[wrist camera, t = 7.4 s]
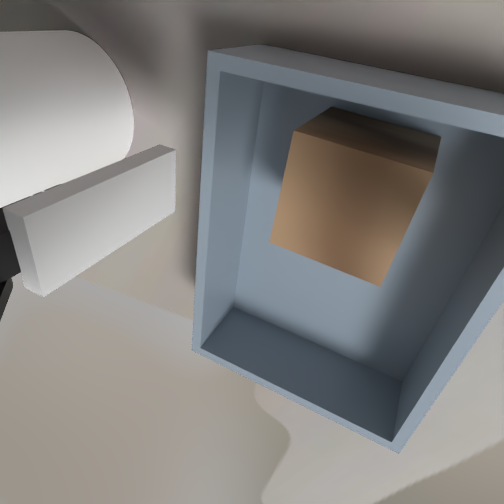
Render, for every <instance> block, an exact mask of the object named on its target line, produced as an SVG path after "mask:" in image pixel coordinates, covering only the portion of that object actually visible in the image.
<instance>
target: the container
mask: <svg viewBox="0 0 504 504" xmlns="http://www.w3.org/2000/svg"><path fill="white" fill-rule="evenodd" d="M133 132H134V116H133V109H132V104H131V99H130V96H129V93H128V90H127V87H126V84H125V82H124V80H123V78H122V76H121V74H120V72H119V70H118V69H117V67H116V65H115V64H114V62H113V61H112V60H111V58H110V57H109V56H108V55H107V53H106V52H105V51H104V50H103V49H102V48H101V47H100V46H99V45H98V44H96V43H95V42H94V41H93V40H91V39H90V38H88V37H87V36H84V35H82V34H80V33H78V32H74V31H69V30H51V31H11V32H0V208H2V207H4V206H6V205H9V204H11V203H14V202H16V201H19V200H21V199H24V198H26V197H29V196H33V195H34V194H36V193H39V192H41V191H42V192H44V190H46V189H49V188H51V187H54V186H56V185H59V184H63V183H66V182H68V181H71V180H73V179H76V178H78V177H81V176H83V175H86V174H88V173H91V172H93V171H95V170H98V169H100V168H103V167H105V166H108V165H110V164H113V163H115V162H118V161H120V160H123V159H124V158H125V156H126V155H127V153H128V151H129V149H130V147H131V144H132V140H133Z"/></svg>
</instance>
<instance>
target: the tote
mask: <svg viewBox="0 0 504 504" xmlns="http://www.w3.org/2000/svg"><path fill="white" fill-rule="evenodd" d="M330 107H335V108H339V109H342V110H346V111H349V112H353V113H357V114H360V115H364V116H367V117H371V118H375V119H378V120H382V121H385V122H389V123H393V124H396V125H400V126H404V127H407V128H411V129H414V130H418V131H422V132H425V133H429V134H432V135H436V136H440V137H441V141H440V146H439V150H438V155H437V159H436V164H435V168H434V173H433V175H432V177H431V179H430V181H429V184H428V186H427V188H426V190H425V192H424V194H423V197H422V199H421V201H420V203H419V205H418V207H417V209H416V212H415V214H414V216H413V218H412V220H411V222H410V224H409V227H408V229H407V231H406V233H405V235H404V237H403V240H402V242H401V244H400V246H399V248H398V250H397V252H396V255H395V257H394V259H393V261H392V263H391V265H390V267H389V270H388V272H387V274H386V276H385V278H384V280H383V283H382V285H381V287H379V286H377V285H374V284H372V283H369V282H367V281H364V280H362V279H359V278H357V277H354V276H352V275H349V274H347V273H344V272H342V271H339V270H337V269H334V268H332V267H329V266H327V265H324V264H322V263H319V262H317V261H314V260H312V259H309V258H307V257H304V256H302V255H300V254H297V253H295V252H292V251H290V250H287V249H285V248H282V247H280V246H277V245H275V244H272V243H270V242H269V241H270V237H271V232H272V228H273V223H274V218H275V214H276V209H277V205H278V200H279V195H280V191H281V186H282V182H283V177H284V173H285V168H286V163H287V159H288V154H289V150H290V145H291V141H292V136H293V131H294V130H295V129H297V128H298V127H300V126H302V125H303V124H305V123H306V122H308V121H309V120H311V119H313V118H314V117H316V116H317V115H319V114H320V113H322V112H324V111H325V110H327V109H328V108H330ZM503 301H504V93H500V92H495V91H490V90H485V89H480V88H475V87H470V86H465V85H460V84H455V83H450V82H446V81H441V80H436V79H431V78H426V77H421V76H416V75H411V74H406V73H401V72H396V71H392V70H387V69H382V68H377V67H372V66H367V65H362V64H357V63H352V62H347V61H342V60H338V59H333V58H328V57H323V56H318V55H313V54H308V53H303V52H298V51H293V50H288V49H283V48H279V47H274V46H269V45H264V44H259V45H251V46H242V47H234V48H225V49H217V50H208V54H207V72H206V91H205V110H204V129H203V148H202V166H201V185H200V204H199V223H198V242H197V260H196V279H195V298H194V317H193V337H192V351H194V352H197V353H198V354H200V355H202V356H204V357H206V358H208V359H211V360H213V361H214V362H216V363H218V364H220V365H222V366H224V367H226V368H228V369H230V370H232V371H234V372H236V373H238V374H240V375H243V376H244V377H246V378H248V379H250V380H253V381H254V382H256V383H258V384H260V385H262V386H264V387H266V388H268V389H270V390H272V391H274V392H276V393H278V394H280V395H282V396H284V397H286V398H288V399H290V400H292V401H294V402H296V403H298V404H300V405H302V406H304V407H306V408H308V409H310V410H312V411H314V412H316V413H318V414H320V415H322V416H324V417H326V418H328V419H330V420H332V421H334V422H336V423H338V424H340V425H342V426H344V427H346V428H348V429H350V430H352V431H354V432H356V433H358V434H360V435H362V436H364V437H366V438H368V439H370V440H372V441H374V442H376V443H378V444H380V445H382V446H384V447H386V448H388V449H390V450H392V451H394V452H396V453H398V454H399V453H400V452H401V450H402V449H403V447H404V446H405V444H406V443H407V441H408V440H409V438H410V437H411V436H412V434H413V433H414V431H415V430H416V428H417V427H418V425H419V424H420V422H421V421H422V419H423V418H424V417H425V415H426V414H427V412H428V411H429V409H430V408H431V406H432V405H433V403H434V402H435V400H436V399H437V397H438V396H439V395H440V393H441V392H442V390H443V389H444V387H445V386H446V384H447V383H448V381H449V380H450V378H451V377H452V376H453V374H454V373H455V371H456V370H457V368H458V367H459V365H460V364H461V362H462V361H463V359H464V358H465V356H466V355H467V354H468V352H469V351H470V349H471V348H472V346H473V345H474V343H475V342H476V340H477V339H478V337H479V336H480V334H481V333H482V332H483V330H484V329H485V327H486V326H487V324H488V323H489V321H490V320H491V318H492V317H493V315H494V314H495V313H496V311H497V310H498V308H499V307H500V305H501V304H502V302H503Z"/></svg>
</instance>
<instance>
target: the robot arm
mask: <svg viewBox="0 0 504 504" xmlns="http://www.w3.org/2000/svg"><path fill="white" fill-rule="evenodd" d="M175 174H176V150H175V149H172V148H169V147H166V146H163V145H157V146H155V147H152V148H150V149H147V150H145V151H142V152H140V153H138V154H135V155H133V156H130V157H128V158H125V159H123V160H120V161H118V162H115V163H113V164H110V165H108V166H105V167H103V168H100V169H98V170H95V171H93V172H91V173H88V174H86V175H83V176H81V177H78V178H76V179H73V180H71V181H68V182H66V183H63V184H59V185H56V186H54V187H51V188H49V189H46V190H44V192H42V191H41V192H39V193H36V194H34V195H33V196H29V197H26V198H24V199H21V200H19V201H16V202H14V203H11V204H9V205H6V206H4V207H2V208H0V320H1V317H2V315H3V312H4V310H5V307H6V304H7V302H8V299H9V296H10V294H11V291H12V288H13V282H12V279H11V277H13V276H15V275H16V274H18V273H20V272H21V275H22V279H23V282H24V286H25V288H26V289H28V290H30V291H32V292H34V293H36V294H38V295H40V296H42V297H44V296H46V295H48V294H49V293H51V292H52V291H54V290H55V289H57V288H58V287H60V286H61V285H63V284H64V283H66V282H67V281H69V280H70V279H72V278H74V277H75V276H77V275H78V274H80V273H81V272H83V271H84V270H86V269H87V268H89V267H90V266H92V265H93V264H95V263H97V262H98V261H100V260H101V259H103V258H104V257H106V256H107V255H109V254H110V253H112V252H113V251H115V250H116V249H118V248H119V247H121V246H123V245H124V244H126V243H127V242H129V241H130V240H132V239H133V238H135V237H136V236H138V235H139V234H141V233H142V232H144V231H145V230H147V229H149V228H150V227H152V226H153V225H155V224H156V223H158V222H159V221H161V220H162V219H164V218H165V217H167V216H168V215H170V214H171V213H173V212H175Z"/></svg>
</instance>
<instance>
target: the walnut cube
mask: <svg viewBox="0 0 504 504" xmlns="http://www.w3.org/2000/svg"><path fill="white" fill-rule="evenodd" d="M440 141H441V137H440V136H436V135H432V134H429V133H425V132H422V131H418V130H414V129H411V128H407V127H404V126H400V125H396V124H393V123H389V122H385V121H382V120H378V119H375V118H371V117H367V116H364V115H360V114H357V113H353V112H349V111H346V110H342V109H339V108H335V107H330V108H328V109H327V110H325V111H324V112H322V113H320V114H319V115H317V116H316V117H314V118H313V119H311V120H309V121H308V122H306V123H305V124H303V125H302V126H300V127H298V128H297V129H295V130H294V131H293V136H292V141H291V145H290V150H289V154H288V159H287V163H286V168H285V173H284V177H283V182H282V186H281V191H280V195H279V200H278V205H277V209H276V214H275V218H274V223H273V228H272V232H271V237H270V241H269V242H270V243H272V244H275V245H277V246H280V247H282V248H285V249H287V250H290V251H292V252H295V253H297V254H300V255H302V256H304V257H307V258H309V259H312V260H314V261H317V262H319V263H322V264H324V265H327V266H329V267H332V268H334V269H337V270H339V271H342V272H344V273H347V274H349V275H352V276H354V277H357V278H359V279H362V280H364V281H367V282H369V283H372V284H374V285H377V286H379V287H381V285H382V283H383V280H384V278H385V276H386V274H387V272H388V270H389V267H390V265H391V263H392V261H393V259H394V257H395V255H396V252H397V250H398V248H399V246H400V244H401V242H402V240H403V237H404V235H405V233H406V231H407V229H408V227H409V224H410V222H411V220H412V218H413V216H414V214H415V212H416V209H417V207H418V205H419V203H420V201H421V199H422V197H423V194H424V192H425V190H426V188H427V186H428V184H429V181H430V179H431V177H432V175H433V173H434V168H435V164H436V159H437V155H438V150H439V146H440Z"/></svg>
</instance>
